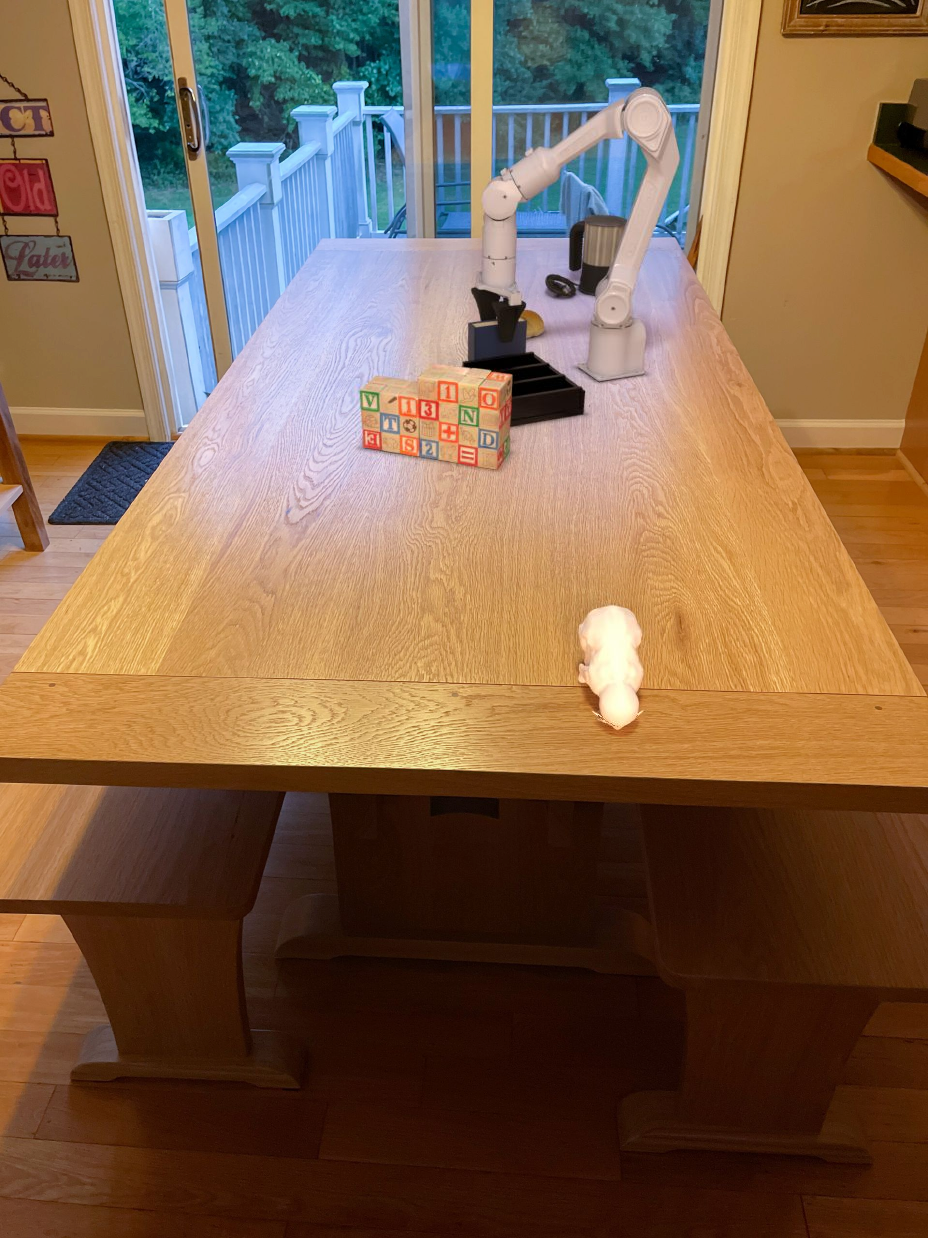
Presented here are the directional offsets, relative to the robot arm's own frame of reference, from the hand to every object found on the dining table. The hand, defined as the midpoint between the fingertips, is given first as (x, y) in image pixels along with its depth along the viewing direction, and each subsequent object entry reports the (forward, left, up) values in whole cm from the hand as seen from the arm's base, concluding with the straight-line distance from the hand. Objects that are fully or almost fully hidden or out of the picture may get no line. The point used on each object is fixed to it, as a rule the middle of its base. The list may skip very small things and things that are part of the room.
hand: (497, 334), depth 170 cm
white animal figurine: (+28, +90, -6) cm, 94 cm away
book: (0, 0, -6) cm, 6 cm away
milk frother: (-36, -34, -6) cm, 50 cm away
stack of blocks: (+23, +29, -6) cm, 37 cm away
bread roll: (-12, -15, -6) cm, 20 cm away
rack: (+3, +16, -6) cm, 17 cm away
